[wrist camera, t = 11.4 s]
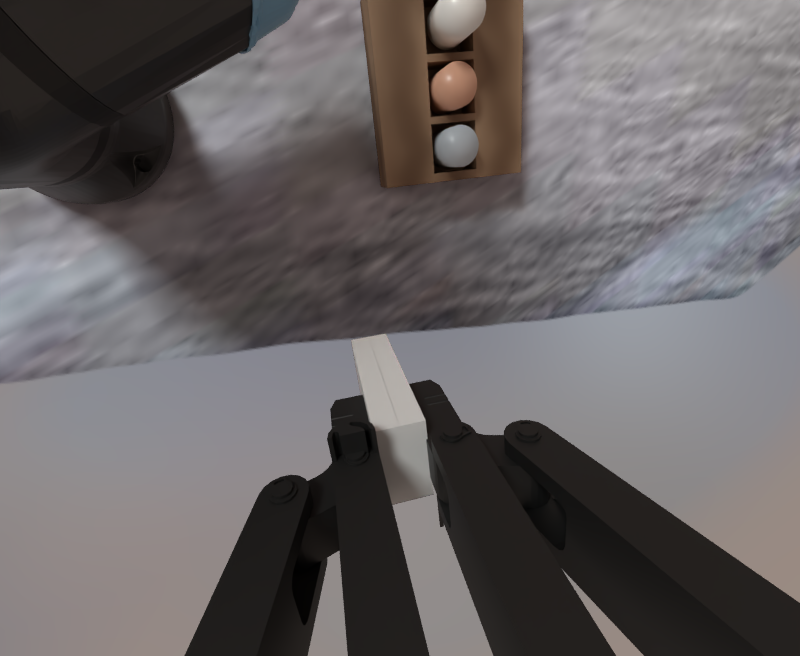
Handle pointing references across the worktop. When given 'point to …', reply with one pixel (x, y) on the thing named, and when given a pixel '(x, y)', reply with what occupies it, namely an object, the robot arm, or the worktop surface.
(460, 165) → the pale blue egg
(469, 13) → the white egg
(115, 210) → the worktop surface
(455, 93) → the brown egg
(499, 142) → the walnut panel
